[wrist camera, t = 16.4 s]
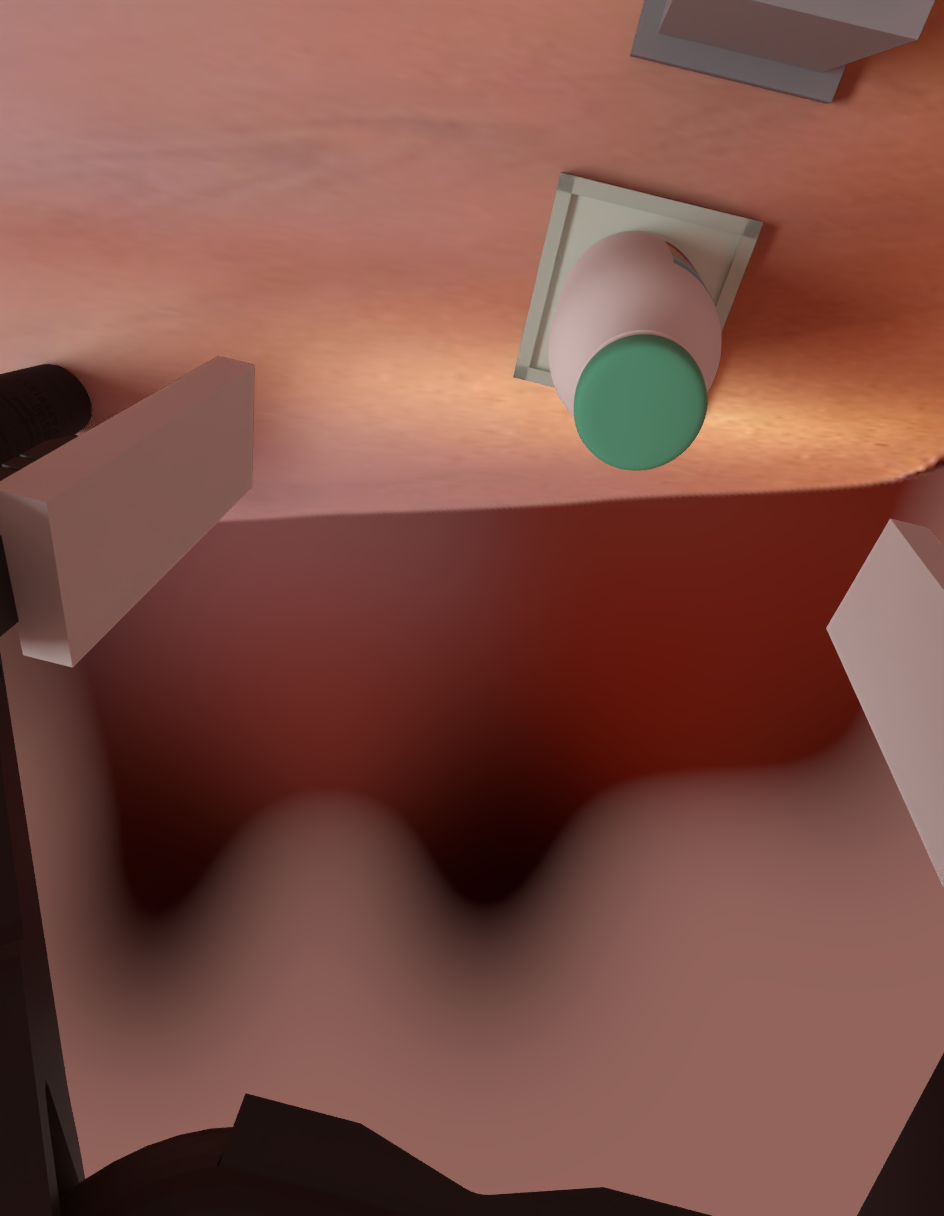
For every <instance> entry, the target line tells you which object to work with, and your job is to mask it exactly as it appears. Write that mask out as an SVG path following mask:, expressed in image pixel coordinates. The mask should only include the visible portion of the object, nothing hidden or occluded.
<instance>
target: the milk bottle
mask: <svg viewBox="0 0 944 1216" xmlns="http://www.w3.org/2000/svg"><path fill="white" fill-rule="evenodd" d="M548 357H549V367H550V372H551V377H552V381H553V384H554V387H555V389H556V391H557V394H558V396H559V398H560V399H561V401H562V403H563V404H564V405H565V407H566V408H567V410H568V411H569V412H570V413H571V414H572V415H573V416H574V420H575V424H576V428H577V431H578V433H579V436H580V438H581V439H582V441H583V443H584V444H585V445H586V447H587V448H588V449H589V450H590V451H591V452H592V453H593V454H594V455H595V456H596V457H597V458H599V459H600V460H602V461H603V462H605V463H607V464H609V465H611V466H614V467H616V468H620V469H625V470H647V469H652V468H656V467H659V466H662V465H664V464H666V463H668V462H670V461H672V460H673V459H675V458H676V457H678V456H679V455H681V454H682V453H683V452H684V451H685V450H686V449H687V448H688V447H689V446H690V445H691V443H692V442H693V441H694V439H695V438H696V436H697V435H698V433H699V431H700V429H701V427H702V425H703V422H704V419H705V415H706V410H707V393H708V391H709V389H710V387H711V385H712V383H713V381H714V378H715V376H716V373H717V370H718V367H719V362H720V357H721V326H720V321H719V316H718V313H717V310H716V307H715V305H714V302H713V300H712V298H711V295H710V293H709V291H708V290H707V288H706V286H705V284H704V283H703V281H702V279H701V278H700V276H699V274H698V273H697V271H696V270H695V268H694V267H693V265H692V264H691V262H690V261H689V259H688V258H687V257H686V255H685V254H684V253H683V252H682V251H681V250H680V249H679V248H678V247H677V246H676V245H674V244H673V243H672V242H670V241H669V240H668V239H666V238H664V237H662V236H660V235H657V234H655V233H651V232H646V231H635V230H633V231H624V232H619V233H615V234H612V235H610V236H607V237H605V238H603V239H601V240H599V241H598V242H596V243H595V244H593V245H592V246H591V247H589V248H588V249H587V250H586V251H585V252H584V253H583V254H582V255H581V256H580V257H579V258H578V260H577V261H576V262H575V264H574V265H573V267H572V268H571V270H570V272H569V274H568V276H567V278H566V280H565V282H564V285H563V288H562V291H561V294H560V297H559V300H558V303H557V307H556V310H555V314H554V318H553V322H552V325H551V331H550V338H549V349H548Z"/></svg>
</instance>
